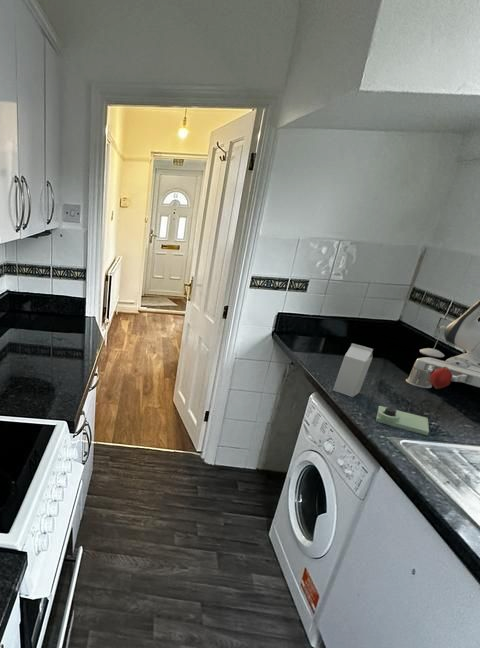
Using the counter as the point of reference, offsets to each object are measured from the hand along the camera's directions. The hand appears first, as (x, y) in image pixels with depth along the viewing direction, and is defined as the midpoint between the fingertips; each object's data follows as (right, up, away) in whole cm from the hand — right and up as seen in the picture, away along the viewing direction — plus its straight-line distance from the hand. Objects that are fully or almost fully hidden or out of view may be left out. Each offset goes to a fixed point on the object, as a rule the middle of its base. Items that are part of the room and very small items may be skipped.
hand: (441, 375), depth 136 cm
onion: (0, -5, +3) cm, 5 cm away
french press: (+18, -3, +33) cm, 38 cm away
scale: (-12, -15, +1) cm, 20 cm away
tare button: (-17, -13, 0) cm, 22 cm away
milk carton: (-19, -7, +21) cm, 29 cm away
